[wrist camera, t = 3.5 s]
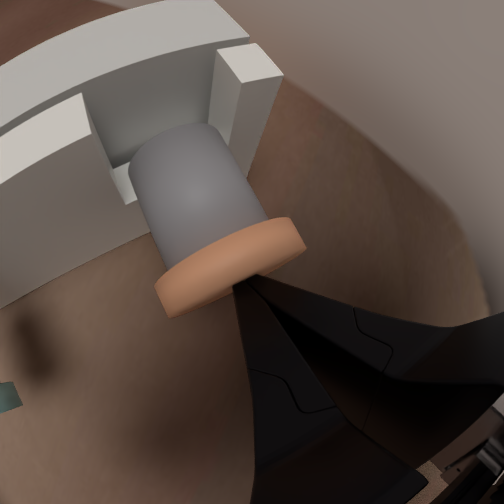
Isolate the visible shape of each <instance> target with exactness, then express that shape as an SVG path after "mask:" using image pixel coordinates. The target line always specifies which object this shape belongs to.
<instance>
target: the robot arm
mask: <svg viewBox="0 0 504 504" xmlns="http://www.w3.org/2000/svg"><path fill="white" fill-rule="evenodd" d="M232 291H233V297H234V302H235V308H236V313H237V319H238V324H239V329H240V335H241V340H242V345H243V351H244V356H245V361H246V366H247V370H248V371H247V372H248V377H249V382H250V389H251V395H252V405H253V423H254V453H255V470H254V482H253V488H252V494H251V500H250V504H406V503H407V502H408V501H409V500H411V499H412V498H413V497H414V496H415V495H416V494H418V493H419V492H420V491H421V490H422V489H423V488H424V487H425V486H427V484H428V483H429V482H428V480H427V479H426V478H425V477H424V476H423V475H422V474H421V473H419V472H418V471H417V470H416V469H417V468H419V467H420V466H421V465H423V464H424V463H426V462H427V461H428V460H430V461H431V462H432V463H433V464H434V465H435V466H436V467H437V468H438V469H439V470H440V471H441V472H442V474H441V475H440V476H441V478H442V479H443V480H444V481H445V482H446V483H447V484H448V485H449V486H448V487H447V488H446V489H444V490H443V491H442V492H441V493H440V494H439V495H438V496H437V497H436V498H435V499H434V500H433V501H432V502H431V503H430V504H504V474H503V475H502V476H501V477H500V478H499V480H498V481H497V483H496V484H495V485H493V483H494V482H495V481H496V480H497V478H498V477H499V476H500V474H501V473H502V472H503V470H504V312H501V313H498V314H495V315H492V316H489V317H486V318H483V319H480V320H477V321H473V322H470V323H467V324H463V325H460V326H455V327H438V326H432V325H427V324H422V323H417V322H412V321H407V320H402V319H397V318H393V317H389V316H385V315H381V314H377V313H374V312H370V311H367V310H364V309H361V308H358V307H353V306H351V305H348V304H345V303H342V302H339V301H336V300H333V299H330V298H327V297H324V296H321V295H318V294H315V293H312V292H309V291H306V290H303V289H300V288H297V287H294V286H291V285H288V284H285V283H282V282H279V281H276V280H274V279H271V278H268V277H265V276H262V275H259V274H255V275H253V276H251V277H249V278H247V279H245V281H241V282H239V283H237V284H235V285H233V286H232Z"/></svg>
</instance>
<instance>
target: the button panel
mask: <svg viewBox="0 0 504 504" xmlns="http://www.w3.org/2000/svg"><path fill="white" fill-rule="evenodd" d="M249 39H250V36H249V35H248V34H247V33H246V32H245V31H244V30H243V29H242V28H241V27H240V26H239V25H238V24H237V23H236V22H235V21H234V20H233V19H232V18H231V17H230V16H229V15H228V14H227V13H226V12H225V11H224V10H223V9H222V8H221V7H220V6H219V5H218V4H217V3H216V2H215V1H214V0H165V1H161V2H156V3H152V4H148V5H144V6H140V7H136V8H132V9H129V10H125V11H122V12H119V13H115V14H112V15H109V16H106V17H103V18H100V19H98V20H95V21H92V22H89V23H87V24H84V25H82V26H79V27H77V28H74V29H72V30H69V31H67V32H65V33H62V34H60V35H58V36H56V37H54V38H52V39H49V40H47V41H45V42H43V43H41V44H39V45H37V46H35V47H34V48H32V49H30V50H28V51H26V52H24V53H22V54H21V55H19V56H17V57H15V58H14V59H12V60H10V61H9V62H7V63H5V64H4V65H2V66H1V67H0V309H1V308H3V307H5V306H6V305H8V304H10V303H12V302H13V301H15V300H17V299H19V298H20V297H22V296H24V295H26V294H28V293H29V292H31V291H33V290H35V289H37V288H38V287H40V286H42V285H44V284H46V283H48V282H50V281H51V280H53V279H55V278H57V277H59V276H61V275H63V274H65V273H67V272H69V271H70V270H72V269H74V268H76V267H78V266H80V265H82V264H84V263H86V262H88V261H90V260H92V259H94V258H96V257H98V256H100V255H102V254H104V253H106V252H108V251H111V250H113V249H115V248H117V247H119V246H121V245H123V244H125V243H127V242H129V241H131V240H134V239H136V238H138V237H140V236H142V235H144V234H147V233H149V232H151V231H150V229H149V227H148V224H147V222H146V219H145V217H144V215H143V212H142V210H141V207H140V205H139V202H138V199H137V197H136V194H135V192H134V189H133V186H132V184H131V181H130V178H129V175H128V167H129V164H130V161H131V159H132V158H133V156H134V155H135V153H136V152H137V151H138V150H139V149H140V148H141V147H142V146H143V145H144V144H145V143H146V142H147V141H149V140H150V139H151V138H153V137H154V136H156V135H158V134H159V133H161V132H163V131H165V130H168V129H170V128H173V127H176V126H179V125H183V124H188V123H205V124H209V125H212V126H214V127H215V128H216V129H217V130H218V131H219V132H220V134H221V136H222V137H223V139H224V141H225V143H226V144H227V146H228V148H229V150H230V151H231V153H232V155H233V156H234V158H235V160H236V162H237V163H238V165H239V167H240V169H241V171H242V172H243V174H244V176H245V178H247V175H248V172H249V169H250V166H251V164H252V161H253V158H254V155H255V152H256V150H257V147H258V144H259V141H260V138H261V136H262V133H263V130H264V127H265V125H266V122H267V119H268V116H269V114H270V111H271V108H272V105H273V103H274V100H275V97H276V95H277V92H278V89H279V87H280V84H281V81H282V79H283V76H284V74H283V73H282V72H281V71H280V70H279V69H278V67H277V66H276V65H275V64H274V63H273V61H272V60H271V59H270V58H269V57H268V56H267V55H266V54H265V52H264V51H263V50H262V49H261V48H260V47H259V46H258V45H257V44H256V43H254V44H248V43H249Z"/></svg>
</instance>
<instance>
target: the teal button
mask: <svg viewBox="0 0 504 504" xmlns="http://www.w3.org/2000/svg"><path fill="white" fill-rule="evenodd" d="M22 405H23V404H22V402H21V399H20V397H19V395H18V393H17V391H16V388H15V386H14V384H13V382H5V383H0V413H3V412H6V411H8V410H11V409H14V408H16V407H19V406H22Z"/></svg>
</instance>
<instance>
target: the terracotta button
mask: <svg viewBox="0 0 504 504" xmlns="http://www.w3.org/2000/svg"><path fill="white" fill-rule="evenodd" d="M128 175H129V178H130V181H131V184H132V186H133V189H134V192H135V194H136V197H137V199H138V202H139V205H140V207H141V210H142V212H143V215H144V217H145V219H146V222H147V224H148V227H149V229H150V231H151V234H152V236H153V239H154V241H155V243H156V246H157V248H158V250H159V252H160V255H161V257H162V259H163V261H164V264H165V266H166V268H167V270H168V271H167V272H166V273H165V274H164V275H163V276H161V277H160V278H159V280H158V281H157V282H156V284H155V286H154V288H155V290H156V292H157V294H158V297H159V299H160V301H161V303H162V305H163V307H164V309H165V311H166V314H167V316H168V318H175V317H178V316H181V315H183V314H186V313H189V312H191V311H193V310H196V309H198V308H200V307H203V306H205V305H207V304H209V303H212V302H214V301H216V300H218V299H220V298H222V297H224V296H226V295H228V294H230V293H232V292H233V291H232V286H233V285H235V284H237V283H239V282H241V281H245V279H247V278H249V277H251V276H253V275H255V274H259V275H262V276H265V275H267V274H268V273H270V272H272V271H274V270H276V269H277V268H279V267H281V266H282V265H284V264H286V263H287V262H289V261H291V260H292V259H294V258H295V257H297V256H298V255H300V254H301V253H302V252H304V251H305V250H306V249H307V248H306V246H305V244H304V242H303V241H302V239H301V237H300V235H299V233H298V231H297V230H296V228H295V226H294V224H293V222H292V221H291V219H290V218H288V217H280V218H275V219H270V220H269V219H268V217H267V215H266V213H265V212H264V210H263V208H262V206H261V204H260V203H259V201H258V199H257V197H256V195H255V194H254V192H253V190H252V188H251V186H250V185H249V183H248V181H247V179H246V178H245V176H244V174H243V172H242V171H241V169H240V167H239V165H238V163H237V162H236V160H235V158H234V156H233V155H232V153H231V151H230V150H229V148H228V146H227V144H226V143H225V141H224V139H223V137H222V136H221V134H220V132H219V131H218V130H217V129H216V128H215V127H214V126H212V125H209V124H205V123H188V124H183V125H179V126H176V127H173V128H170V129H168V130H165V131H163V132H161V133H159V134H158V135H156V136H154V137H153V138H151V139H150V140H149V141H147V142H146V143H145V144H144V145H143V146H142V147H141V148H140V149H139V150H138V151H137V152H136V153H135V155H134V156H133V158H132V159H131V161H130V164H129V167H128Z"/></svg>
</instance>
